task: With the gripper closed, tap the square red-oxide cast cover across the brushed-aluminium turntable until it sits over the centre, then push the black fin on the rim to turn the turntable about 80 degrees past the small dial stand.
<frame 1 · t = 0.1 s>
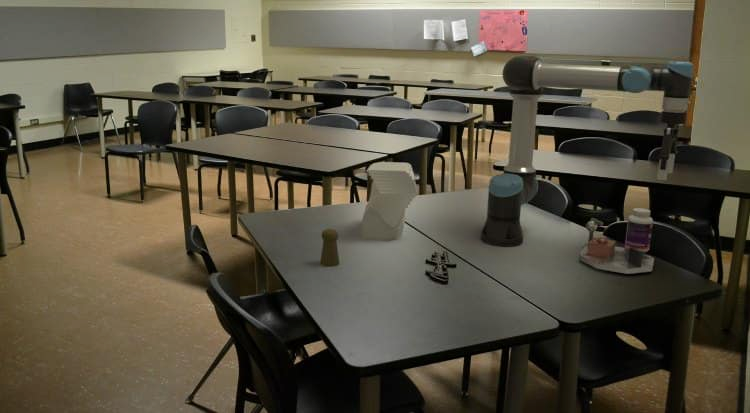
hand: (664, 176, 207), 28 cm above the table, fingers open, 13 cm apart
paper stack: (390, 233, 233), on the table
black irregular piece: (440, 270, 197), on the table
turntable: (617, 251, 204), point 4 cm above the table, hinge at -40.0°, touching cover
pill bottle: (636, 250, 221), on the table
dial stand: (589, 248, 220), on the table
cork: (329, 263, 199), on the table
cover: (600, 253, 207), point 3 cm above the table, touching turntable
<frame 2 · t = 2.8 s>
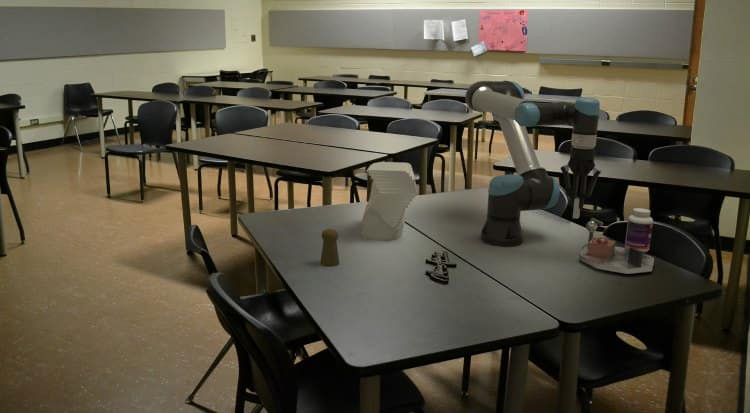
hand: (575, 217, 209), 13 cm above the table, fingers closed
nothing on the table moved.
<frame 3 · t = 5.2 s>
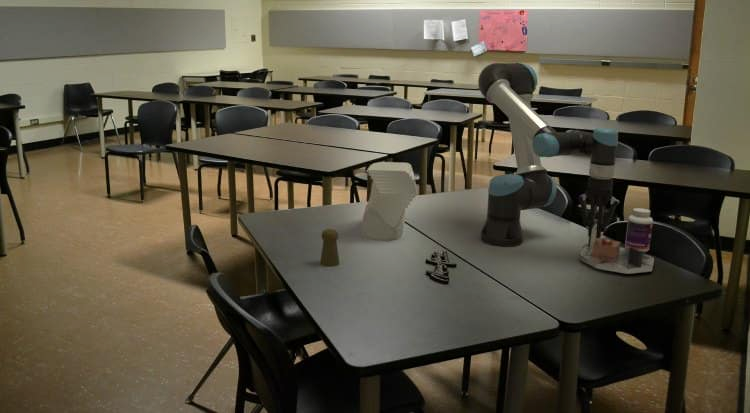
hand: (593, 246, 208), 4 cm above the table, fingers closed
turntable: (617, 251, 204), point 4 cm above the table, hinge at -40.0°
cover: (605, 254, 207), point 3 cm above the table, touching gripper
everything else where it was.
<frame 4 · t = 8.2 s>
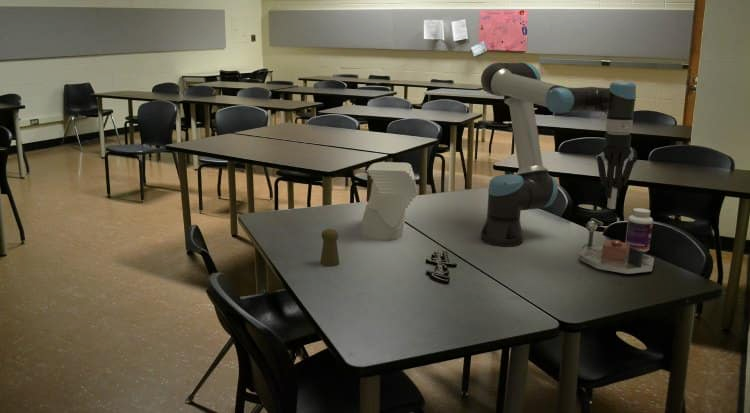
hand: (611, 207, 199), 19 cm above the table, fingers closed
turntable: (617, 251, 204), point 4 cm above the table, hinge at -40.0°, touching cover
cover: (614, 255, 205), point 3 cm above the table, touching turntable
everything else where it was.
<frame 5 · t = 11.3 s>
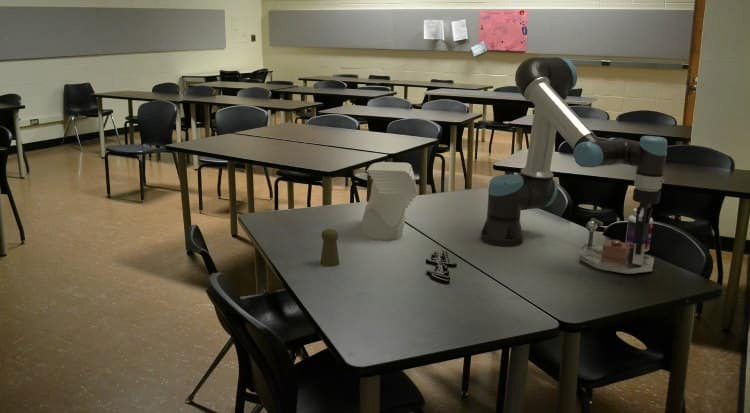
hand: (637, 263, 193), 4 cm above the table, fingers closed
turntable: (617, 251, 204), point 4 cm above the table, hinge at -39.2°, touching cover, gripper
everything else where it was.
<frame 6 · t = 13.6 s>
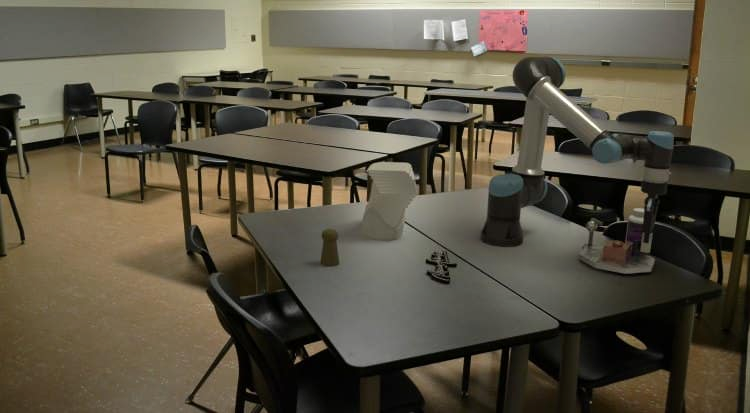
hand: (645, 251, 205), 4 cm above the table, fingers closed
turntable: (617, 251, 204), point 4 cm above the table, hinge at 47.5°, touching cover, gripper
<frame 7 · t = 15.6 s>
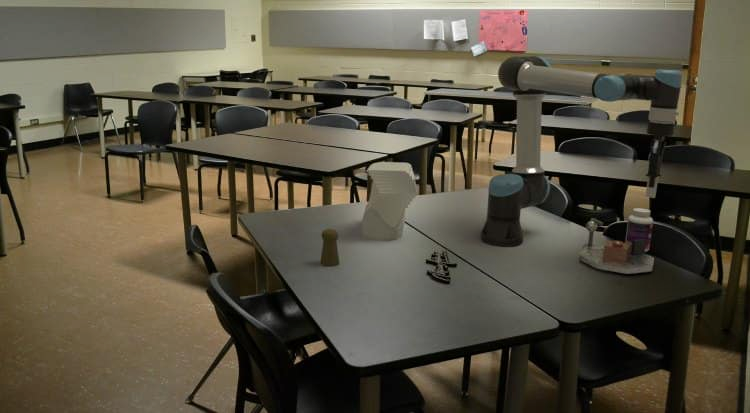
hand: (650, 196, 198), 23 cm above the table, fingers closed
turntable: (617, 251, 204), point 4 cm above the table, hinge at 50.5°, touching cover
everything else where it was.
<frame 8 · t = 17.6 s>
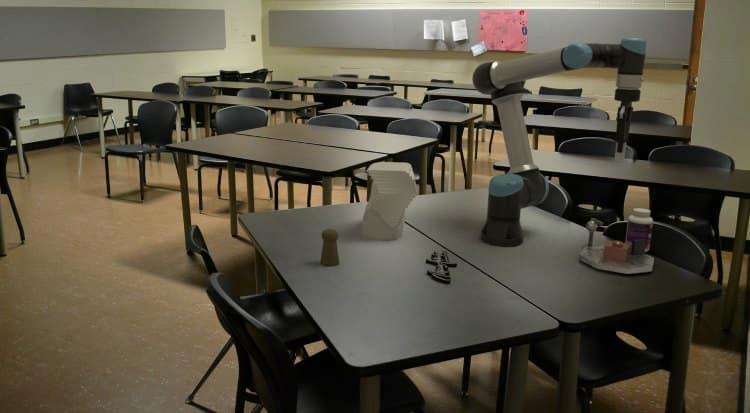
hand: (619, 162, 204), 32 cm above the table, fingers closed
nothing on the table moved.
at the end: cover 0.6 cm from the turntable (horizontally); turntable at +50° (first picture: -40°); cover tilted 0° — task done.
